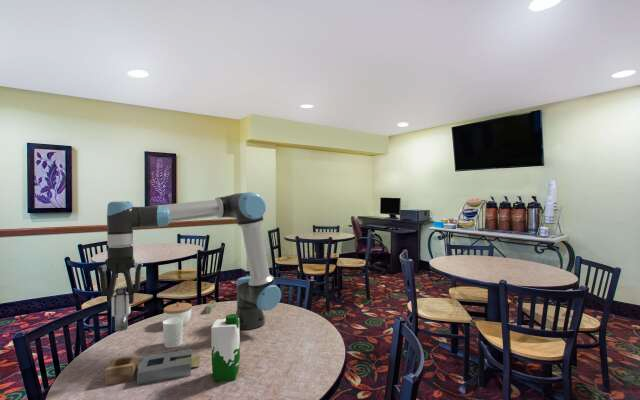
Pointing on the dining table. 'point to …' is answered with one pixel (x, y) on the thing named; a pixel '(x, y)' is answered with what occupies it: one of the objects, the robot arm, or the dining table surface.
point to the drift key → (194, 360)
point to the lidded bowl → (178, 311)
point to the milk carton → (225, 348)
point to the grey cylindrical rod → (120, 309)
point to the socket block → (164, 367)
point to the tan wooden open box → (121, 370)
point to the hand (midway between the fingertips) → (121, 314)
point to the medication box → (210, 307)
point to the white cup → (173, 332)
